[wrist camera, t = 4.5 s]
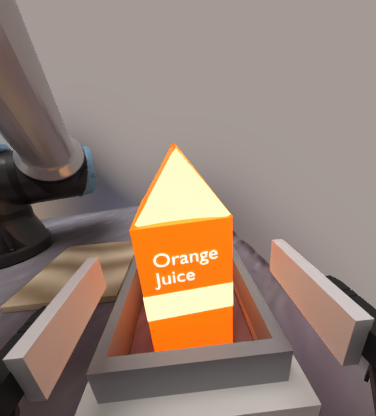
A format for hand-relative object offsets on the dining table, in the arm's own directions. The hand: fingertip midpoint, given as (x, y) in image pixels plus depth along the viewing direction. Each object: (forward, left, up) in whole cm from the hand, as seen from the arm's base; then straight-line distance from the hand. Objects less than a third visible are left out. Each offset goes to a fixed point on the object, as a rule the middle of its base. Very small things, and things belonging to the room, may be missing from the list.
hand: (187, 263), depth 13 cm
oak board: (-17, -18, -11) cm, 27 cm away
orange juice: (-5, 0, -12) cm, 12 cm away
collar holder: (-5, 0, -11) cm, 12 cm away
